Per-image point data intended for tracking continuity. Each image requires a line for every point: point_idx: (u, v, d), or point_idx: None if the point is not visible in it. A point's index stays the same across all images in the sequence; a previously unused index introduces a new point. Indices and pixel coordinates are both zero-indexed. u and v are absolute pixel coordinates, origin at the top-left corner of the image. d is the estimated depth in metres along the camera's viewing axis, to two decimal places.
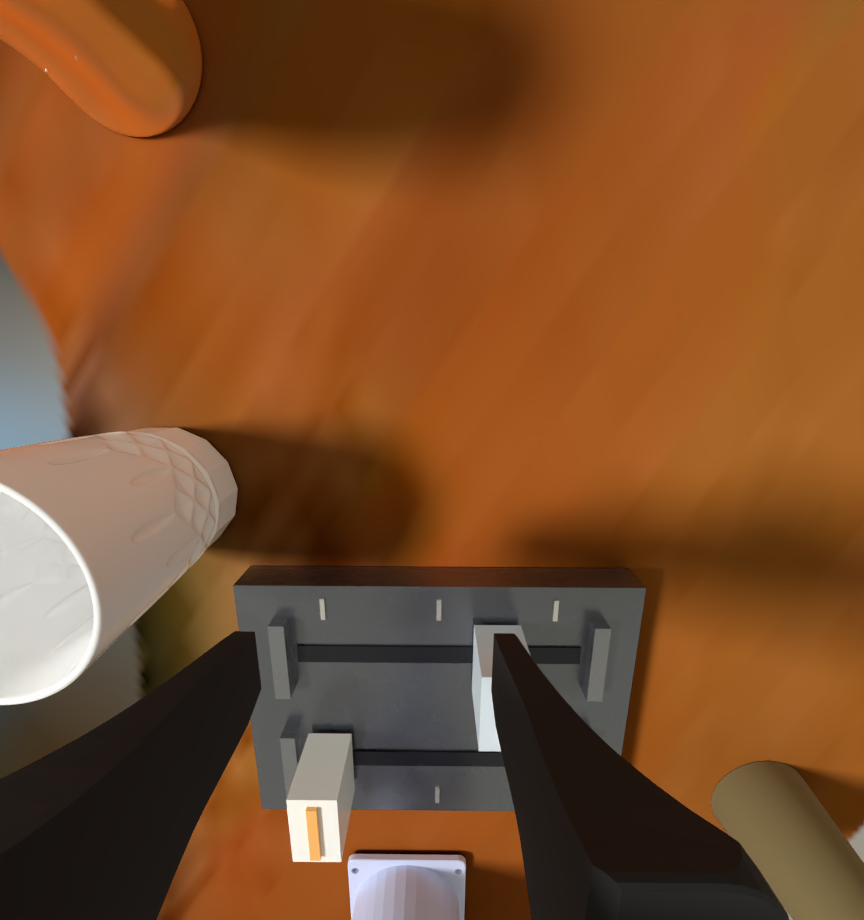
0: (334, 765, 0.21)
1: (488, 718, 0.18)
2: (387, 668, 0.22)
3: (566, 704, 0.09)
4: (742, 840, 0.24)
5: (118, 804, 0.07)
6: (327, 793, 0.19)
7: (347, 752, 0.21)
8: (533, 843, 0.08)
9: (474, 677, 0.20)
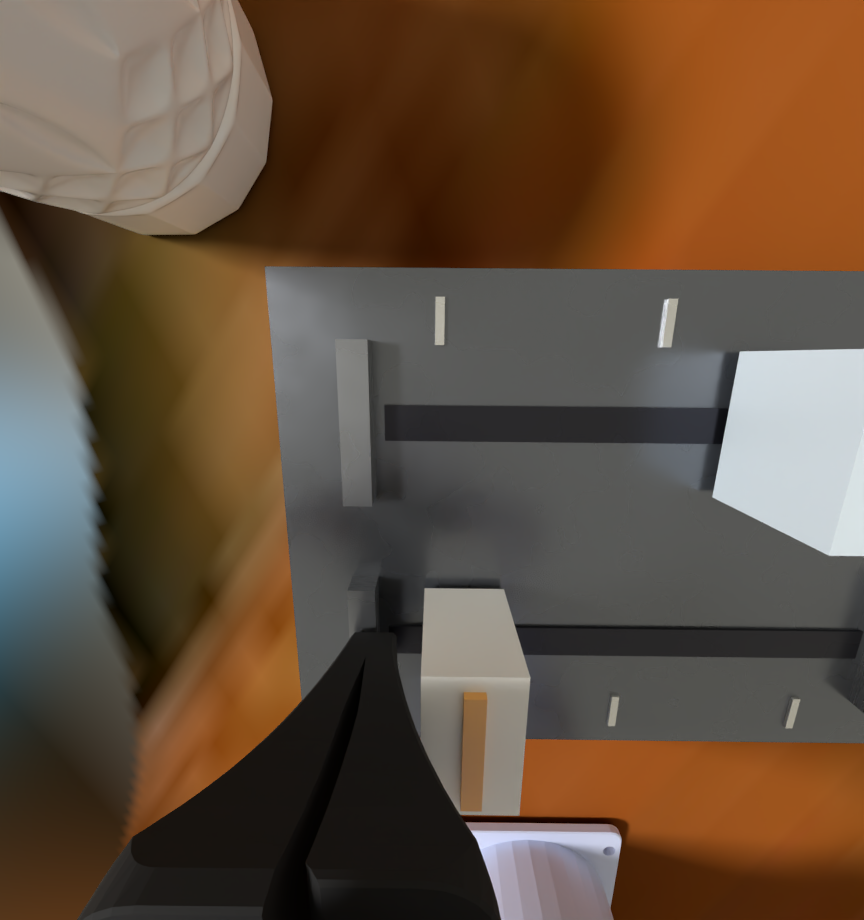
0: (495, 627, 0.10)
1: None
2: (552, 456, 0.12)
3: (401, 703, 0.09)
4: None
5: (322, 806, 0.07)
6: (503, 666, 0.09)
7: (509, 612, 0.11)
8: None
9: (751, 446, 0.10)
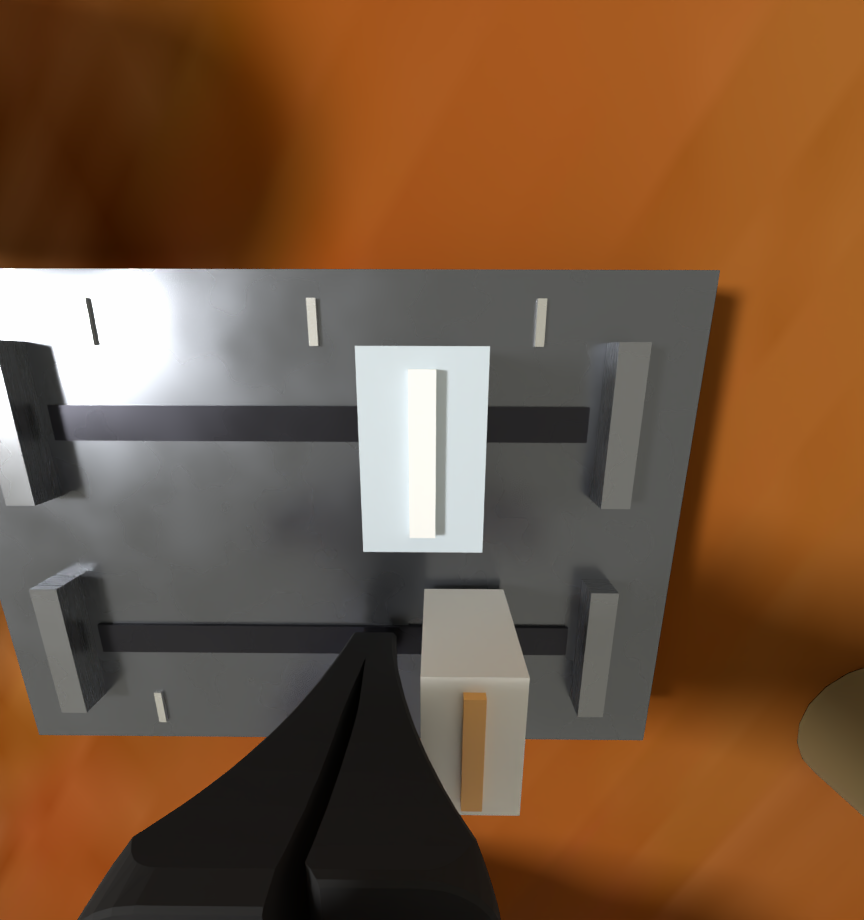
0: (495, 627, 0.10)
1: (380, 464, 0.08)
2: (226, 455, 0.12)
3: (401, 703, 0.09)
4: None
5: (322, 806, 0.07)
6: (502, 666, 0.09)
7: (508, 612, 0.11)
8: None
9: None
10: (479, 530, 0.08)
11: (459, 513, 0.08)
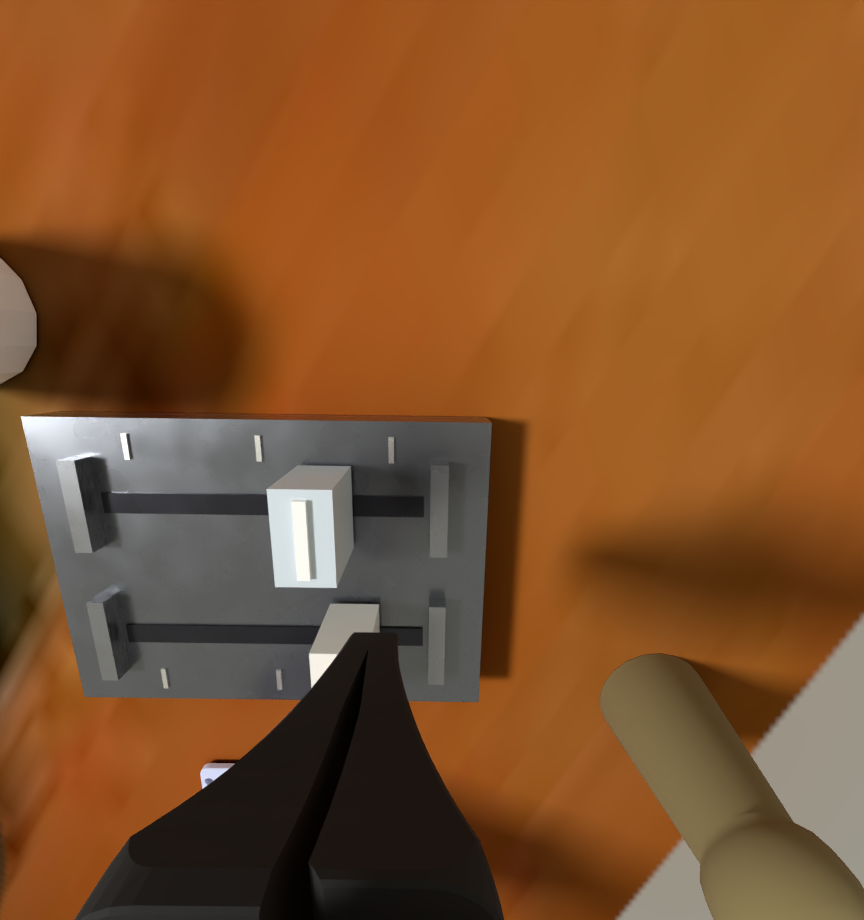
0: (362, 627, 0.18)
1: (281, 543, 0.15)
2: (208, 522, 0.19)
3: (403, 703, 0.09)
4: (623, 735, 0.22)
5: (320, 806, 0.07)
6: None
7: (375, 618, 0.19)
8: None
9: None
10: (334, 576, 0.16)
11: (323, 568, 0.16)
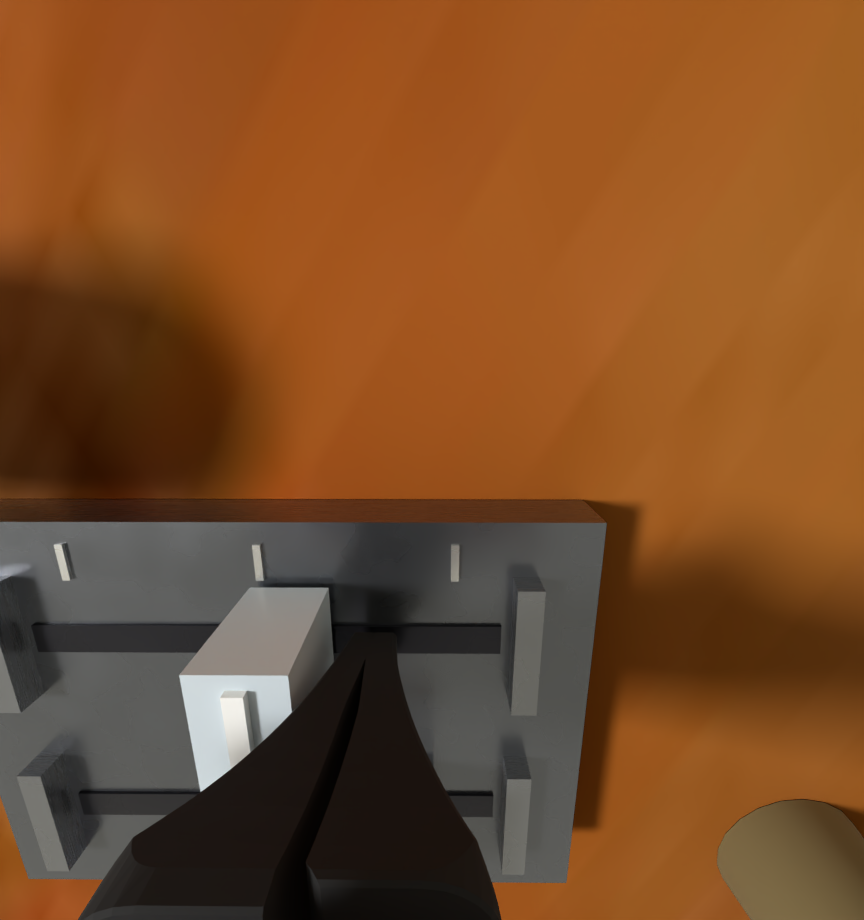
0: None
1: (209, 753, 0.09)
2: (188, 661, 0.13)
3: (402, 703, 0.09)
4: None
5: (322, 806, 0.07)
6: None
7: None
8: None
9: None
10: None
11: None
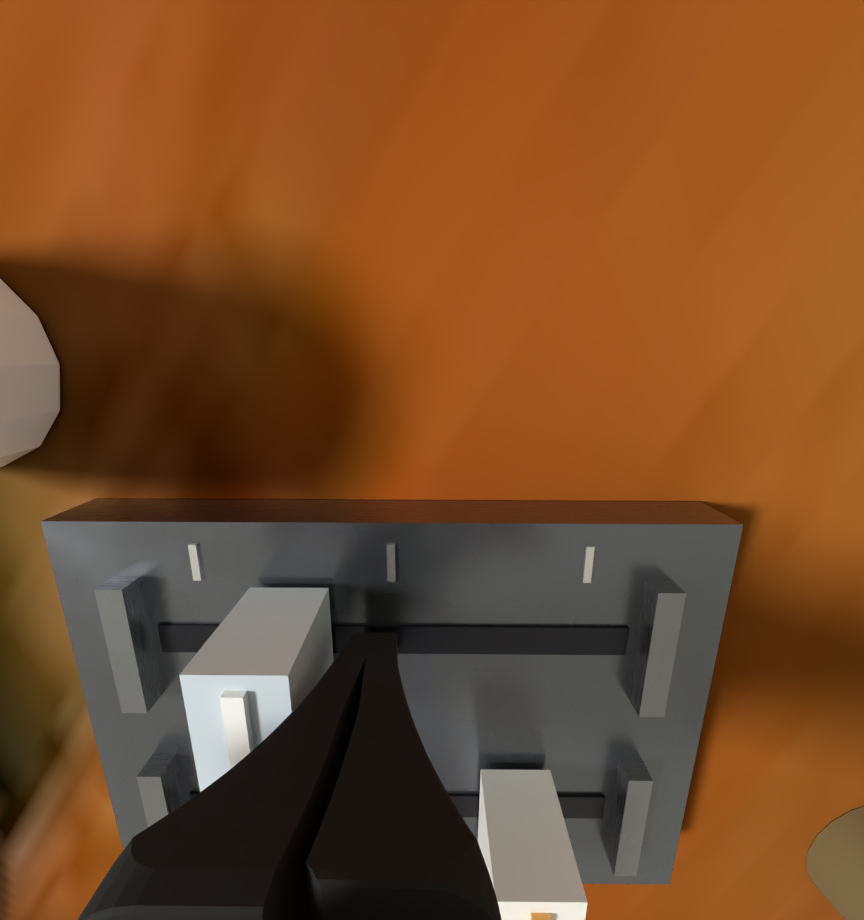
0: (550, 829, 0.12)
1: (210, 753, 0.09)
2: None
3: (402, 703, 0.09)
4: None
5: (322, 806, 0.07)
6: (562, 886, 0.11)
7: (558, 803, 0.13)
8: None
9: None
10: None
11: None
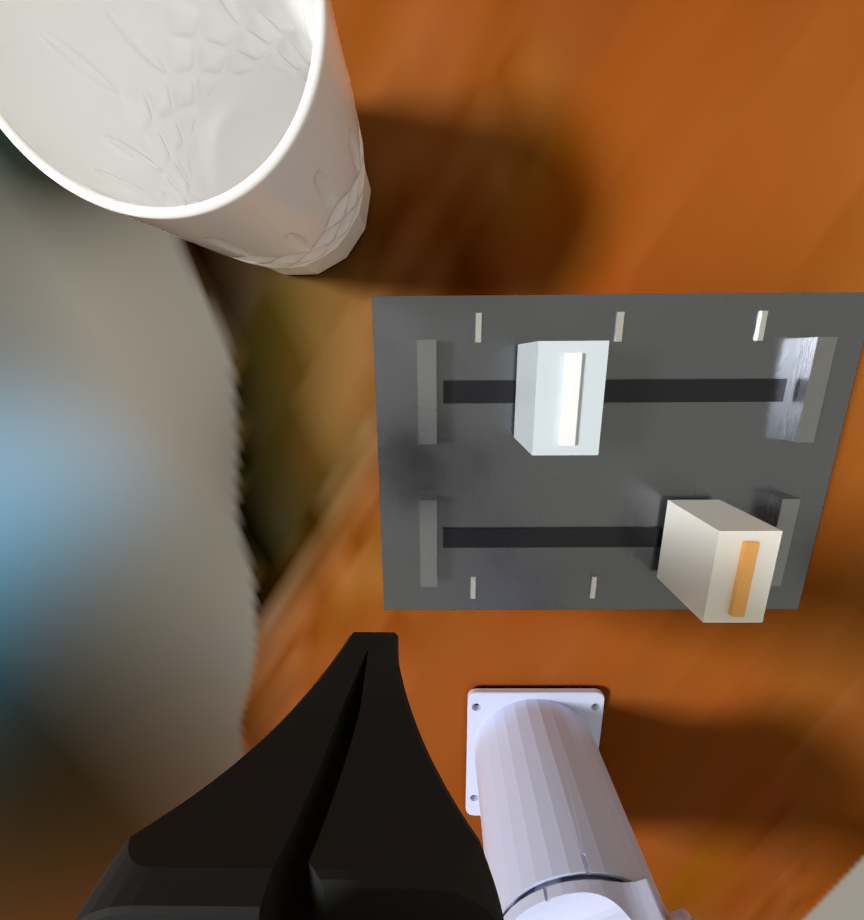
0: (737, 514, 0.17)
1: (545, 405, 0.14)
2: None
3: (403, 703, 0.09)
4: None
5: (320, 806, 0.07)
6: (761, 527, 0.16)
7: (735, 509, 0.18)
8: None
9: (520, 401, 0.17)
10: (597, 442, 0.15)
11: (587, 432, 0.14)
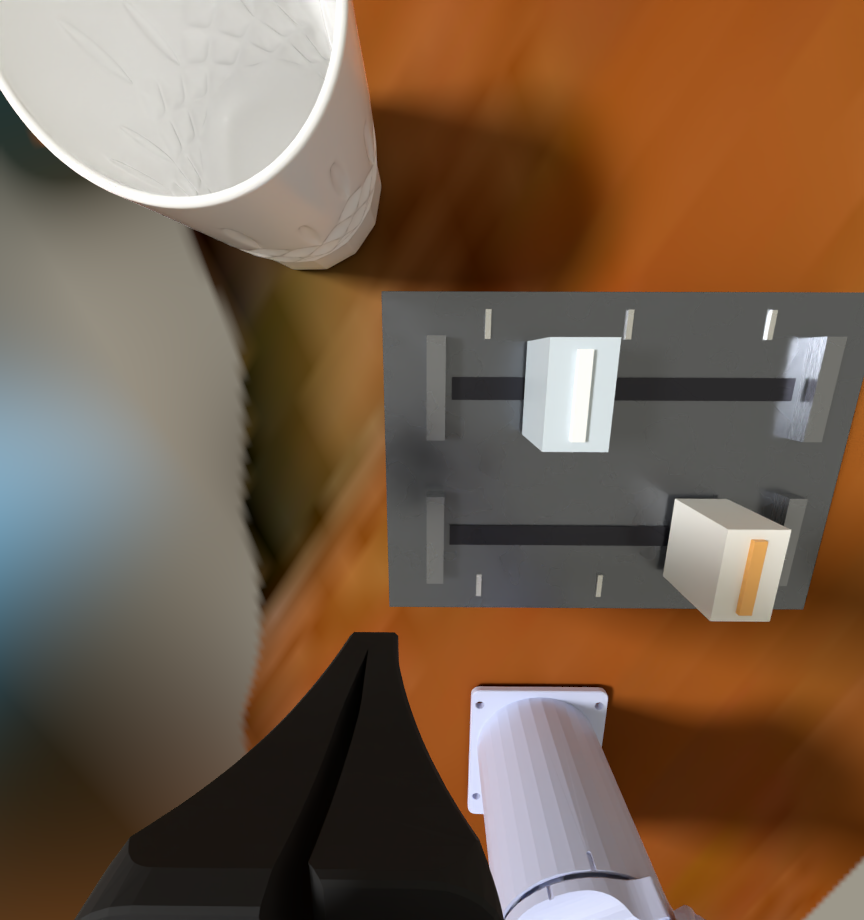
0: (745, 513, 0.17)
1: (556, 401, 0.14)
2: None
3: (403, 703, 0.09)
4: None
5: (320, 806, 0.07)
6: (770, 526, 0.16)
7: (742, 508, 0.18)
8: None
9: (529, 398, 0.17)
10: (607, 439, 0.15)
11: (597, 429, 0.14)
